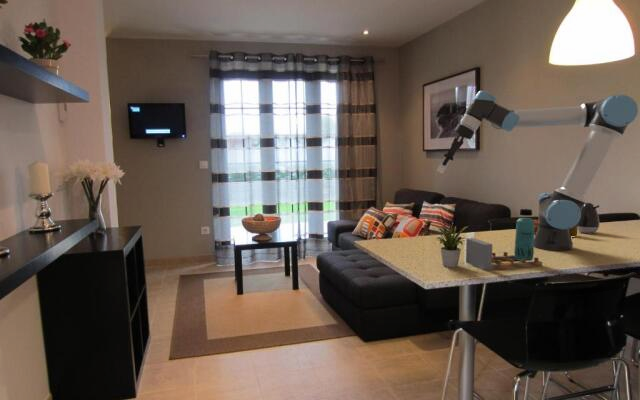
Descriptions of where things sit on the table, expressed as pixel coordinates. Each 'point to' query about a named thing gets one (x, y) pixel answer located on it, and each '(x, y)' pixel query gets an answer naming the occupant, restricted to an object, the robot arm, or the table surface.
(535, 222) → the hamburger
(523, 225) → the beverage bottle
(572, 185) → the robot arm
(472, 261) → the end block
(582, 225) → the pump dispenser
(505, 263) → the band marker
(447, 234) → the house plant
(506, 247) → the table surface
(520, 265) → the wooden peg rack
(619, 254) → the table surface
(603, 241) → the table surface
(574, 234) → the condiment
